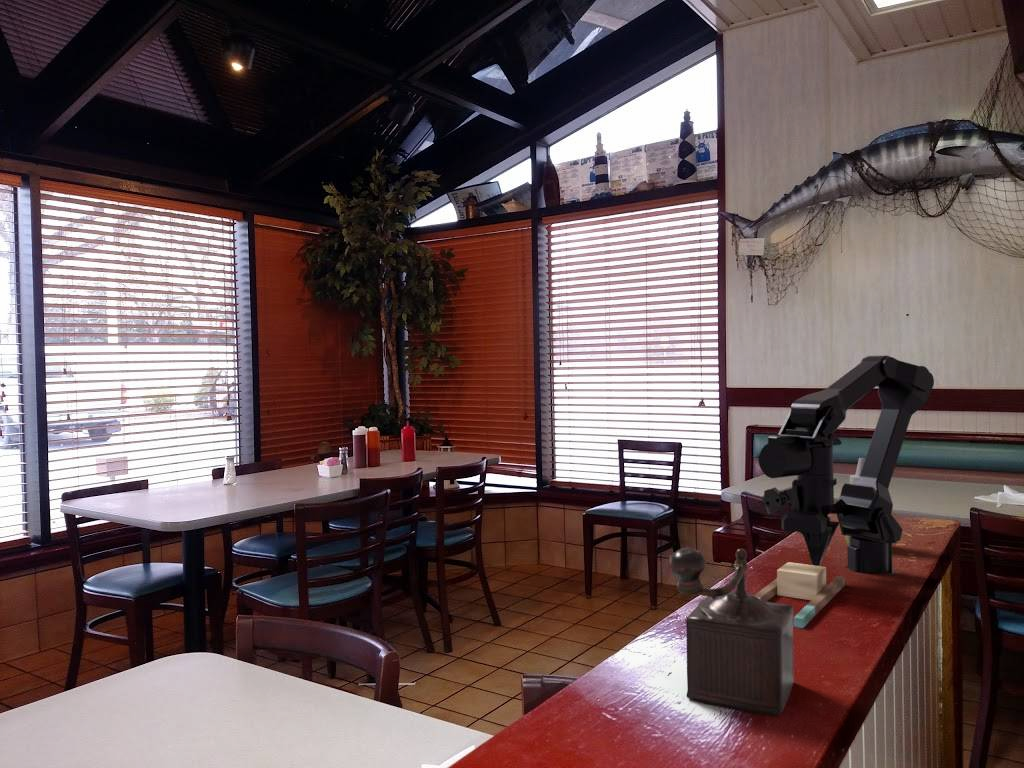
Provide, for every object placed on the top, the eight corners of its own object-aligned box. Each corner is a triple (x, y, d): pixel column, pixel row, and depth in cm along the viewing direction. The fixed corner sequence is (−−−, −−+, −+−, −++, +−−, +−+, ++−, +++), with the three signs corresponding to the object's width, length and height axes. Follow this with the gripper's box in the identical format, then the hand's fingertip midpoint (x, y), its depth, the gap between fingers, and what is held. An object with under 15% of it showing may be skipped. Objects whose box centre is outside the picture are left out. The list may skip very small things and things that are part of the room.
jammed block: (788, 586, 128) (788, 562, 128) (826, 591, 124) (826, 566, 124) (777, 595, 123) (776, 570, 123) (816, 601, 120) (816, 575, 120)
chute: (786, 580, 134) (785, 569, 134) (847, 589, 128) (847, 577, 128) (735, 620, 113) (735, 607, 113) (805, 633, 108) (805, 619, 107)
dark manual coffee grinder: (702, 666, 97) (700, 523, 96) (796, 682, 91) (794, 531, 91) (665, 717, 83) (662, 550, 83) (772, 739, 78) (770, 561, 77)
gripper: (783, 464, 143) (784, 548, 143) (749, 477, 127) (750, 571, 128) (847, 467, 136) (848, 555, 136) (819, 481, 121) (820, 580, 121)
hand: (816, 565), depth 131 cm, fingers closed
